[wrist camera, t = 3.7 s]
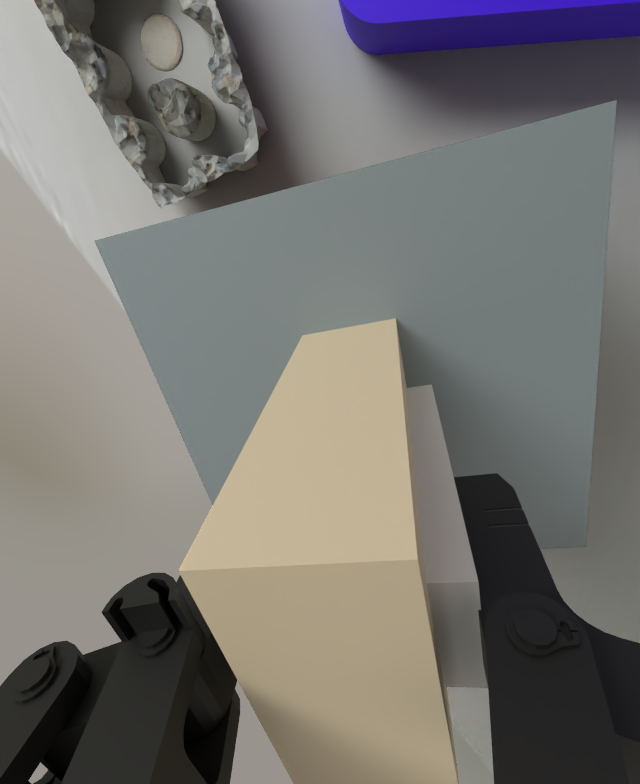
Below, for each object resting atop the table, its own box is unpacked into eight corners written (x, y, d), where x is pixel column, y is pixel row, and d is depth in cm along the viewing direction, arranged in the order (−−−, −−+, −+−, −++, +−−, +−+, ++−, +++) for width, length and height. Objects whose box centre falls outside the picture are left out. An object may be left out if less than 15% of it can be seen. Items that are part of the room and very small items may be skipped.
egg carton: (71, -8, 20) (2, -50, 17) (198, -92, 18) (151, -162, 15) (171, 211, 24) (133, 215, 21) (284, 162, 22) (264, 157, 19)
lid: (113, 237, 13) (-395, 340, 5) (597, 106, 10) (1907, -354, 1) (245, 546, 20) (132, 845, 11) (575, 526, 16) (800, 931, 7)
